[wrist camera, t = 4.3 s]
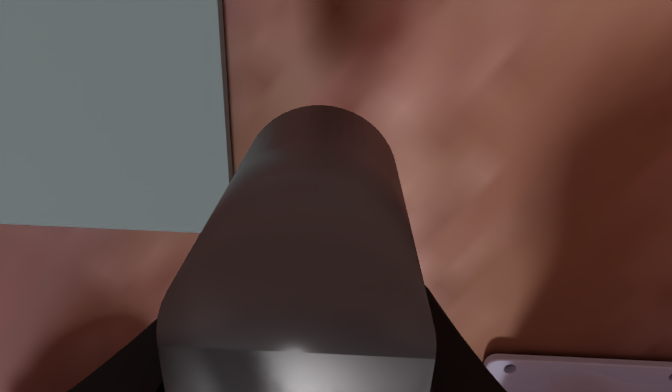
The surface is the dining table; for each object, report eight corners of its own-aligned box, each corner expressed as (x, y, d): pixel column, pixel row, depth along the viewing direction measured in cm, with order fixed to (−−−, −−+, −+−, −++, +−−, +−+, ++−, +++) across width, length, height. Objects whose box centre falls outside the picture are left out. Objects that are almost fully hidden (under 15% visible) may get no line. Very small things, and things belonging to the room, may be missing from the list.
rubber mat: (209, -202, 12) (203, -210, 12) (236, 226, 18) (232, 234, 18) (-201, -218, 13) (-225, -226, 12) (-49, 213, 18) (-61, 220, 18)
